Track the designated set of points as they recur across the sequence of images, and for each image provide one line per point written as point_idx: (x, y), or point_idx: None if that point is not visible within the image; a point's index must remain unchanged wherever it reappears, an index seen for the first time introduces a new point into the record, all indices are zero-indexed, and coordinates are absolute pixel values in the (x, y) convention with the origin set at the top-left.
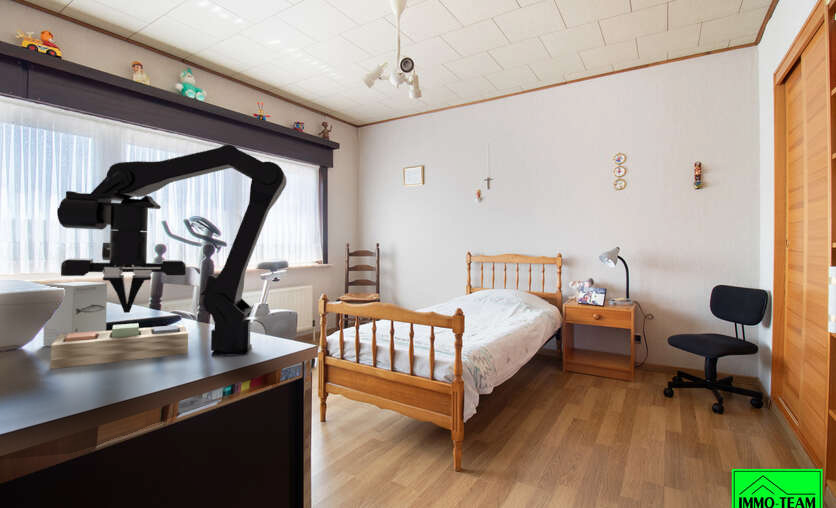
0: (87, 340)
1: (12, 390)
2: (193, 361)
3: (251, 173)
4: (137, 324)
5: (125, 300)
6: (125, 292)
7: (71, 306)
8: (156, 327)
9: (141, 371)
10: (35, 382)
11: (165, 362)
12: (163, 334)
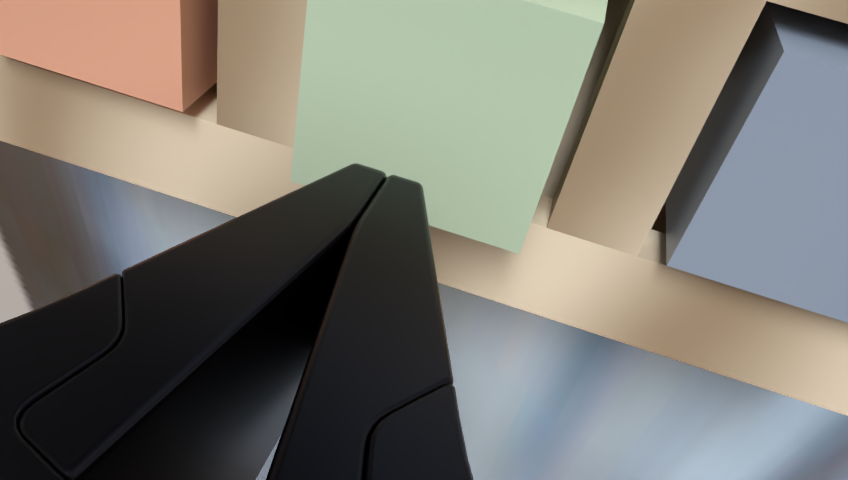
0: (154, 130)
1: (32, 285)
2: (747, 447)
3: None
4: (563, 97)
5: (273, 434)
6: (211, 406)
7: None
8: (793, 104)
9: (466, 405)
10: (77, 244)
11: (622, 363)
12: (709, 332)
